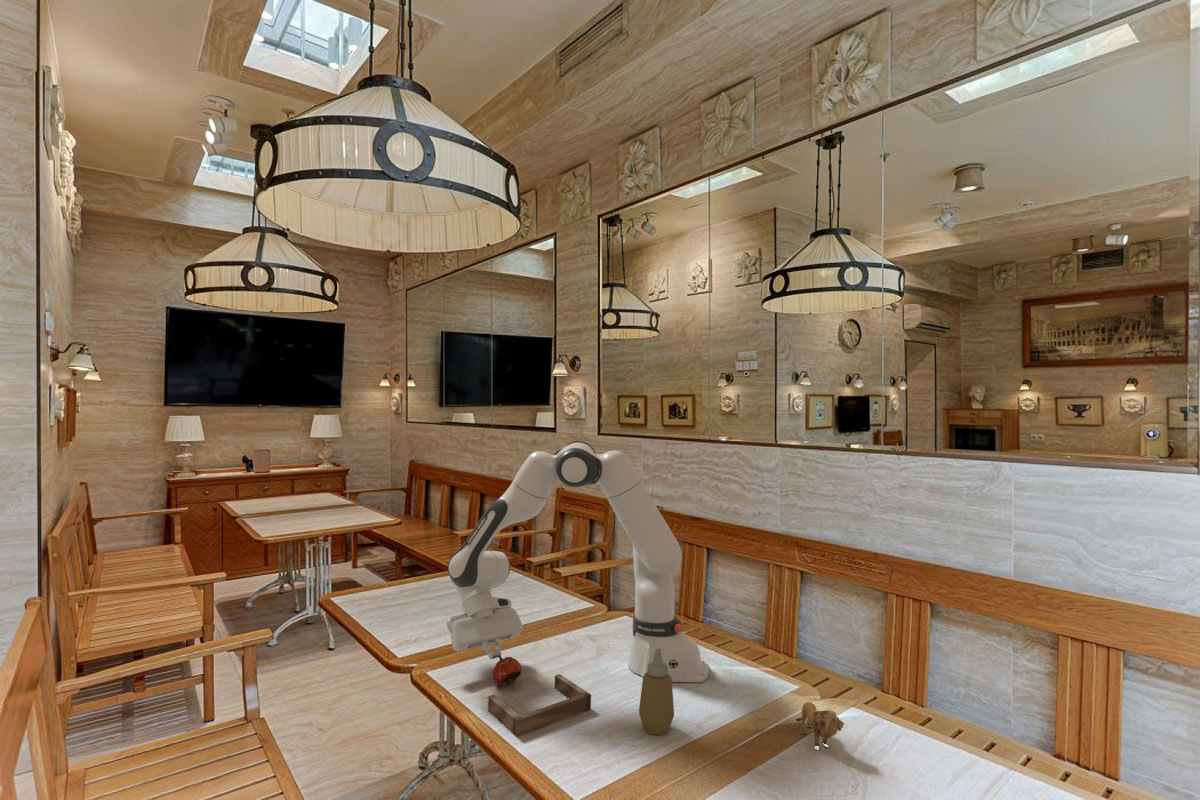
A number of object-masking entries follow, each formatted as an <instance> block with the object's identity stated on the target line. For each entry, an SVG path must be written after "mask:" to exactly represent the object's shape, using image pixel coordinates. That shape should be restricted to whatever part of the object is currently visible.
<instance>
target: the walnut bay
mask: <svg viewBox="0 0 1200 800" xmlns="http://www.w3.org/2000/svg"><path fill="white" fill-rule="evenodd" d="M555 689H557V690H556V691H557V692H558V691H559V692H560V693H559V692H558V693H559V694H561V695H562V694H563V696H564V697H565V696H566V697H565V698H566V699H564V700H561V701H558V702H556V703H552V704H549V705H546V706H544V707H540V708H539V709H536V710H531V711H530V712H527V713H524V714H521V715H519V714H518V713H516V712H515V710H513V709H511V708H510V707H509V706H508V705H507V704H506V703H505V702H504V701H502V699H500V698H499V697H498V696H497V695H495V694H492V695H488V696H487V699H488V701H487V711H488V713H490V714H491V715H492V714H493V715H494V716H495V717H496V718H497V719H498V720H497V721H498V722H500V724H502V725H503V724H504V725H503V726H504V727H505V726H506V727H507V728H508V729H507V728H506V727H505V728H506V729H507V730H509V732H511V733H512V734H513V735H514V736H515V735H516V736H517V737H519V736H522V734H523V735H524V734H528V733H530V732H533V731H536V730H539V729H541V728H544V727H547V726H549V725H552V724H555V723H557V722H560V721H564V720H565V719H567V718H571V717H573V715H574V716H577V715H579V714H581V712H582V713H584V712H587V711H590V710H591V709H592V694H591V693H589V692H588V691H586V690H585V689H583V687H580V686H579V685H577V684H576V683H574V682H573V681H571V680H570V679H568V678H566V677H565V676H564V675H562V674H560V673H557V674H555V675H554V690H555ZM568 698H569V699H568ZM589 709H590V710H589ZM578 713H579V714H578ZM493 715H492V716H493ZM494 716H493V717H494ZM495 717H494V718H495ZM496 718H495V719H496ZM516 736H515V737H516Z"/></svg>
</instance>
